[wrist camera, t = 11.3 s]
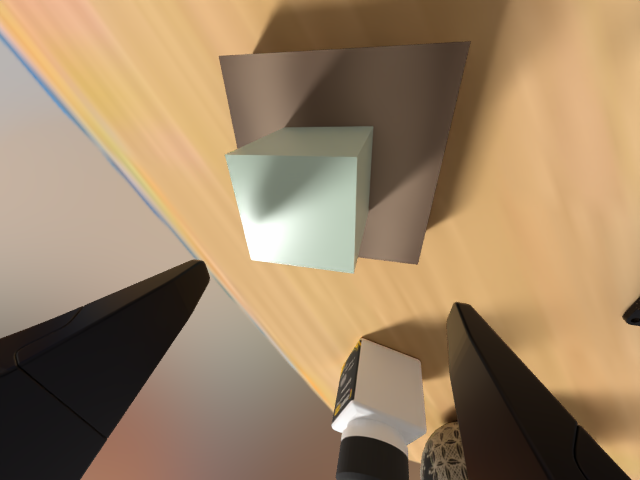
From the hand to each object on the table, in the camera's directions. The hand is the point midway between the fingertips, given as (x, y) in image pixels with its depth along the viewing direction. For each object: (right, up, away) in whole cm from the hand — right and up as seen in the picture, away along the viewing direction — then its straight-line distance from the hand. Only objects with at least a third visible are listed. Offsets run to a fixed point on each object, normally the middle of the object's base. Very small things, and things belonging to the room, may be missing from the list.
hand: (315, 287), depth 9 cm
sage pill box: (+1, +6, +6) cm, 8 cm away
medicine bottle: (+7, -13, +21) cm, 26 cm away
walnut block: (+2, +8, +9) cm, 12 cm away
